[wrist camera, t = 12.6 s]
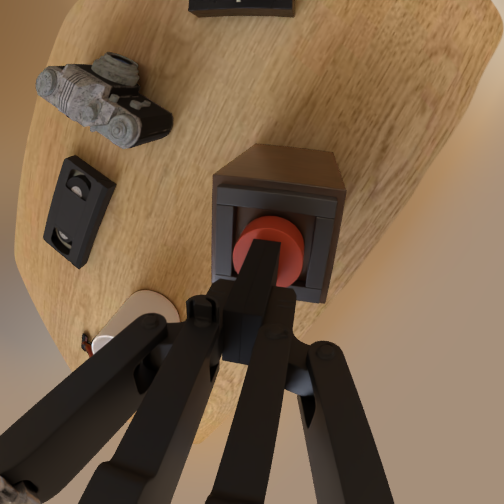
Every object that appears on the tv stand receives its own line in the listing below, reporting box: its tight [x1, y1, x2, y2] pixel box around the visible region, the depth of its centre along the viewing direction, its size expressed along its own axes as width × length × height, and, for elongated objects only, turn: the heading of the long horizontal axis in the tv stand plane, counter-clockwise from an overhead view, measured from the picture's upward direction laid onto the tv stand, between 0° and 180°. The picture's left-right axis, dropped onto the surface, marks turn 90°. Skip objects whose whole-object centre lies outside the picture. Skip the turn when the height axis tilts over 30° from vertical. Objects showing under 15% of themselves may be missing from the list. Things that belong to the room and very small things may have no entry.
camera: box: [36, 52, 173, 149], centre depth 27 cm, size 15×7×10 cm, turn 56°
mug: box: [92, 290, 180, 355], centre depth 41 cm, size 9×12×11 cm
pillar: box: [212, 144, 346, 303], centre depth 27 cm, size 8×8×16 cm
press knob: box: [233, 216, 304, 287], centre depth 19 cm, size 4×4×2 cm
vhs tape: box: [43, 155, 116, 269], centre depth 39 cm, size 14×8×2 cm, turn 146°
